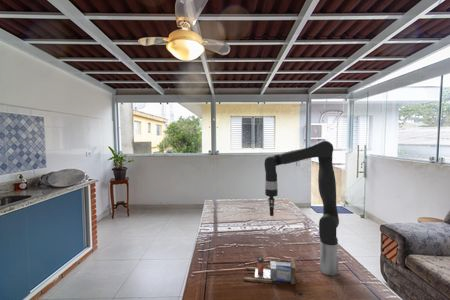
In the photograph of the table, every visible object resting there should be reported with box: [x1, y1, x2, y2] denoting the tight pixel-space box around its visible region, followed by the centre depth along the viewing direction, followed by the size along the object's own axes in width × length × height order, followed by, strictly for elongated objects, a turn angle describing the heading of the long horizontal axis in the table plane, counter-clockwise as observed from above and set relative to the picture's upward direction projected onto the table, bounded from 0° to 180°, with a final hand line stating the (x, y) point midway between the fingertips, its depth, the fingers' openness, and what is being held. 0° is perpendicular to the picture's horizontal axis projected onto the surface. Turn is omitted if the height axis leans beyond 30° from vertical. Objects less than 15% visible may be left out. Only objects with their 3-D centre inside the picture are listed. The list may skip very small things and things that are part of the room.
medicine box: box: [276, 261, 291, 283], centre depth 132 cm, size 8×4×9 cm, turn 79°
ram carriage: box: [254, 256, 277, 282], centre depth 135 cm, size 12×9×10 cm
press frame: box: [243, 257, 296, 285], centre depth 134 cm, size 27×12×9 cm, turn 79°
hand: (271, 213), depth 151 cm, fingers open, 8 cm apart
